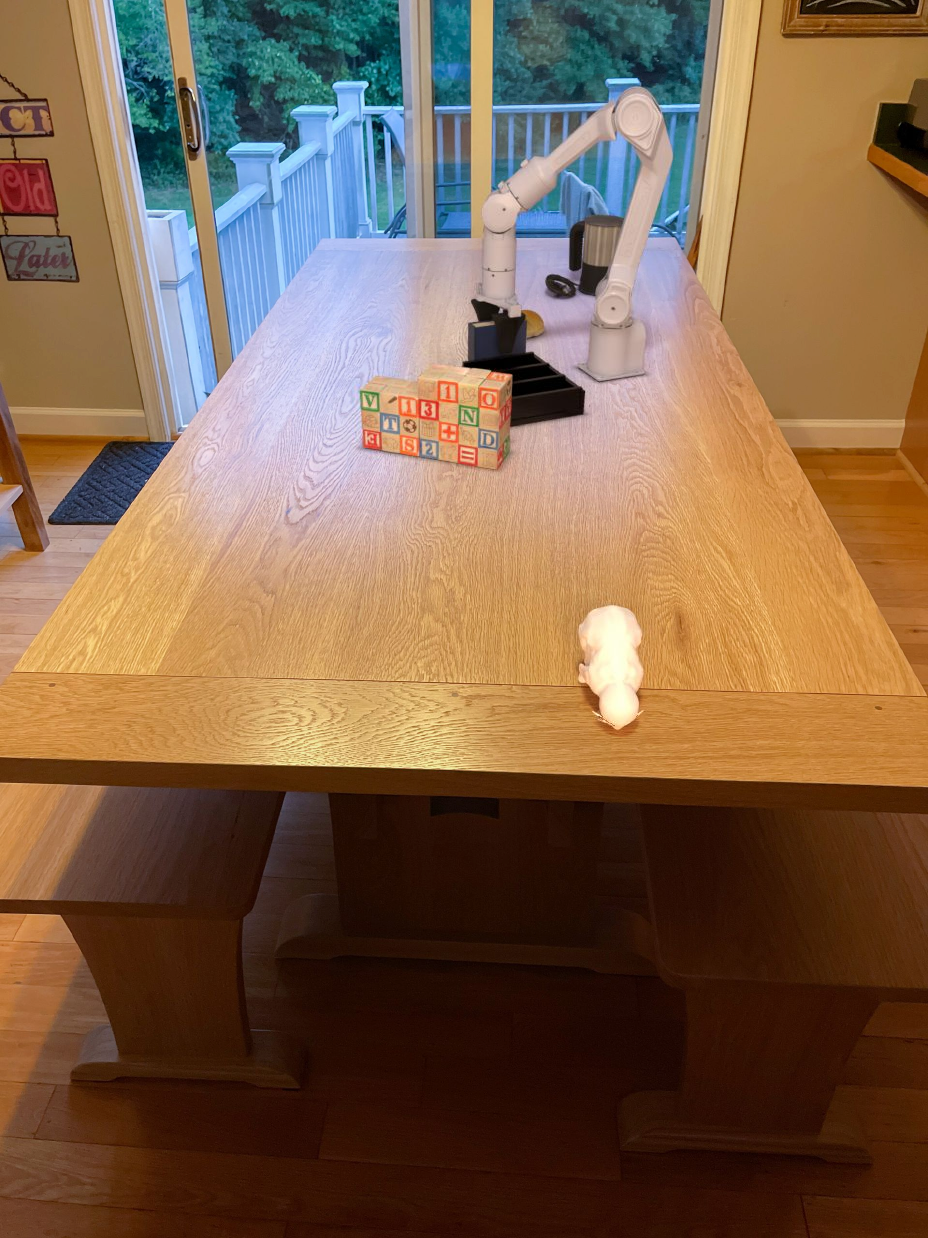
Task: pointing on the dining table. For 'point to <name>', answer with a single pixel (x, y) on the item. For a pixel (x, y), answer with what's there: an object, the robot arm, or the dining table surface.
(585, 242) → the milk frother
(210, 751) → the dining table surface
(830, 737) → the dining table surface
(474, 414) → the stack of blocks
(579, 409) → the rack
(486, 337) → the book
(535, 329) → the bread roll
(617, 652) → the white animal figurine
